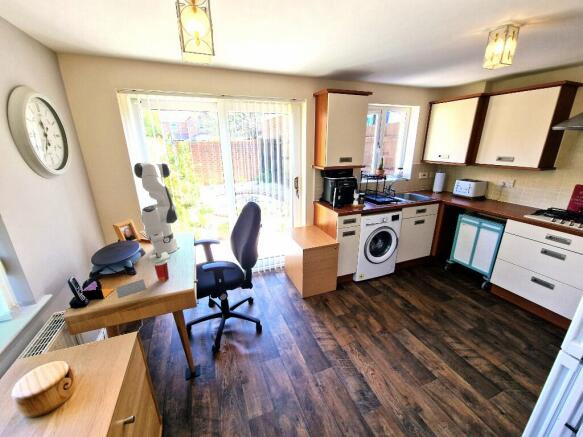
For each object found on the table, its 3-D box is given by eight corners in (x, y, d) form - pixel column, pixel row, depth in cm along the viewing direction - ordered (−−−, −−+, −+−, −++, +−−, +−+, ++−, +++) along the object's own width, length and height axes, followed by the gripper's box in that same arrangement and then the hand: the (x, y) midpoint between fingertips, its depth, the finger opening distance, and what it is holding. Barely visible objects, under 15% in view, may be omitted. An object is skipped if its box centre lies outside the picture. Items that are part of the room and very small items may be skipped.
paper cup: (168, 275, 155) (164, 256, 151) (172, 280, 150) (168, 260, 146) (155, 280, 150) (150, 260, 146) (159, 285, 145) (154, 264, 140)
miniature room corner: (81, 303, 130) (77, 292, 127) (96, 290, 141) (93, 280, 139) (104, 301, 131) (101, 291, 129) (117, 289, 142) (115, 279, 140)
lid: (148, 257, 146) (147, 251, 145) (166, 253, 152) (165, 246, 151) (151, 263, 139) (150, 256, 137) (170, 258, 144) (169, 251, 143)
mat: (116, 288, 142) (116, 287, 142) (143, 279, 151) (143, 279, 150) (118, 299, 132) (118, 298, 132) (147, 290, 140) (146, 289, 140)
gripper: (145, 230, 146) (149, 250, 150) (151, 240, 131) (156, 262, 135) (157, 228, 150) (161, 248, 154) (164, 237, 135) (168, 259, 139)
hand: (158, 255), depth 145 cm, fingers closed on lid, 3 cm apart
